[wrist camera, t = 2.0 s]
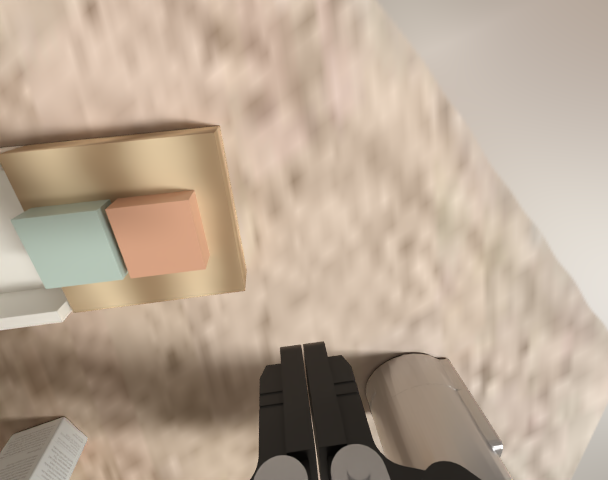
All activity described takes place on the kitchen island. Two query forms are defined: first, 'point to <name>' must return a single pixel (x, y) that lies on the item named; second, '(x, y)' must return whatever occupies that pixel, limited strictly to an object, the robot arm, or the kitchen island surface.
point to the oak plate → (138, 182)
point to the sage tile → (71, 243)
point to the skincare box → (42, 452)
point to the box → (22, 273)
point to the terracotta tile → (159, 233)
